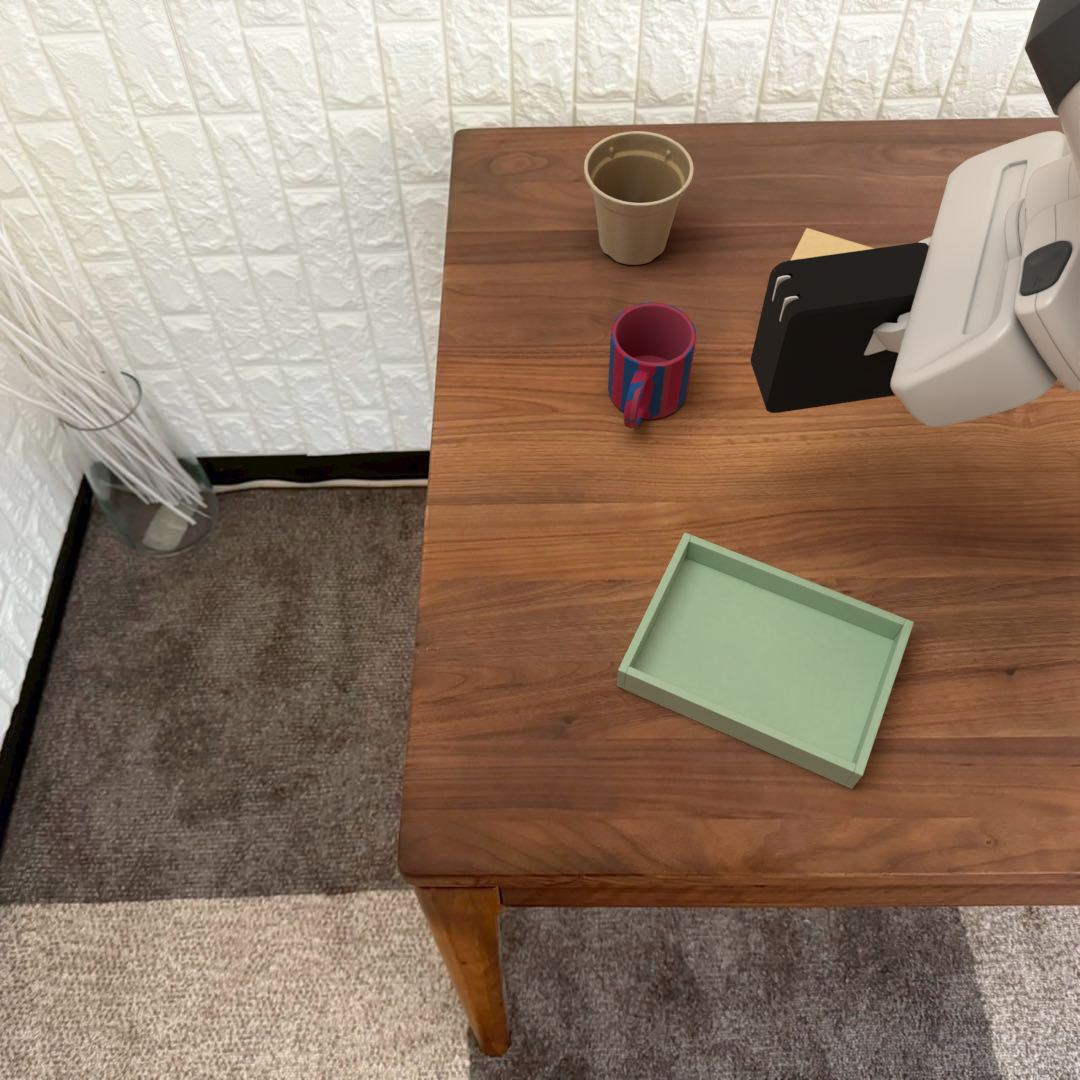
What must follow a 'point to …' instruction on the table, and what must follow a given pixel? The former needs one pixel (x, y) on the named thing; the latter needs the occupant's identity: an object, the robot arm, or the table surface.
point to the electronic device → (832, 326)
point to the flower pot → (636, 192)
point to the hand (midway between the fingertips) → (865, 315)
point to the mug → (650, 361)
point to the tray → (767, 658)
